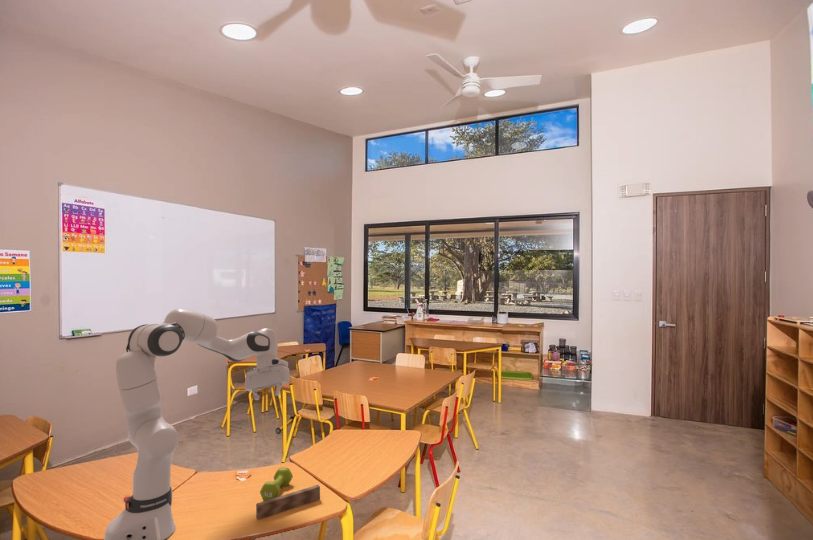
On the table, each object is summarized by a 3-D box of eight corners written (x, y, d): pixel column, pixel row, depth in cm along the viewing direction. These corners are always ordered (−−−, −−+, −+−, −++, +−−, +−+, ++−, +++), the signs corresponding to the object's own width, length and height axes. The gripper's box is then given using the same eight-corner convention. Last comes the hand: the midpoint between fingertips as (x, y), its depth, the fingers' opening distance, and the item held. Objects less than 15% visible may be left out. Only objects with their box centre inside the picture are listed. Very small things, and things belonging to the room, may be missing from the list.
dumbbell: (277, 503, 160) (277, 485, 161) (258, 502, 161) (258, 484, 162) (294, 483, 177) (294, 466, 177) (276, 482, 178) (276, 465, 178)
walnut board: (257, 520, 149) (257, 506, 149) (256, 517, 151) (256, 503, 151) (320, 499, 163) (319, 486, 163) (318, 497, 164) (317, 484, 165)
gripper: (241, 368, 179) (240, 401, 173) (284, 358, 176) (284, 391, 169) (250, 371, 185) (249, 403, 178) (291, 361, 181) (292, 393, 174)
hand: (266, 397), depth 174 cm, fingers open, 8 cm apart
